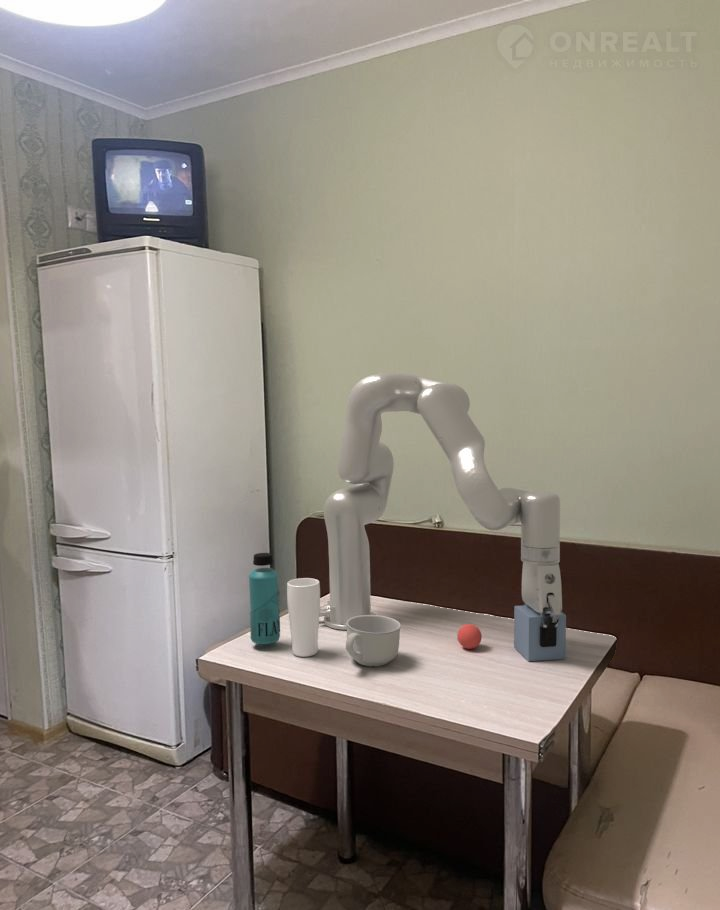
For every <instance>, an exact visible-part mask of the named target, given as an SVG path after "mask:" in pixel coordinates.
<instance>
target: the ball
mask: <svg viewBox="0 0 720 910" xmlns="http://www.w3.org/2000/svg"><path fill="white" fill-rule="evenodd" d="M456 636H457V641H458V643H459V644H460V646H462V648H465V649H468V650H469V649H470V650H472V649H475V648H477V647H478V646H479V645H480V644H481V642H482V637H483V635H482V632H481V630H480V628H479V627H478V626H476V625H475V624H473V623H467V624H463V625H462V626H461V627H459V628H458V631H457V635H456Z"/></svg>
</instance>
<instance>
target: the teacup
mask: <svg viewBox="0 0 720 910" xmlns="http://www.w3.org/2000/svg"><path fill="white" fill-rule="evenodd" d="M401 627H402V624H401V622H399V620H397V619H395V618H392V617H389V616H386V615H379V614H376V615H361V616H355V617H353V618H350V619H349V620H348V621H347V630H346V639H345V640H346V641H345V650H346V651H347V653H348V655H349V656H350V657H351V658H353V660H355V662H356V663H358V664H359V665H362V666H365V667H372V666H375V667H382V666H386V665H388V664H389V662H390V661H393V660H394V659H395V658H396V656H397V655H398V653H399V648H400V637H401V635H400V634H401V633H400V632H401ZM381 665H382V666H381Z"/></svg>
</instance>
